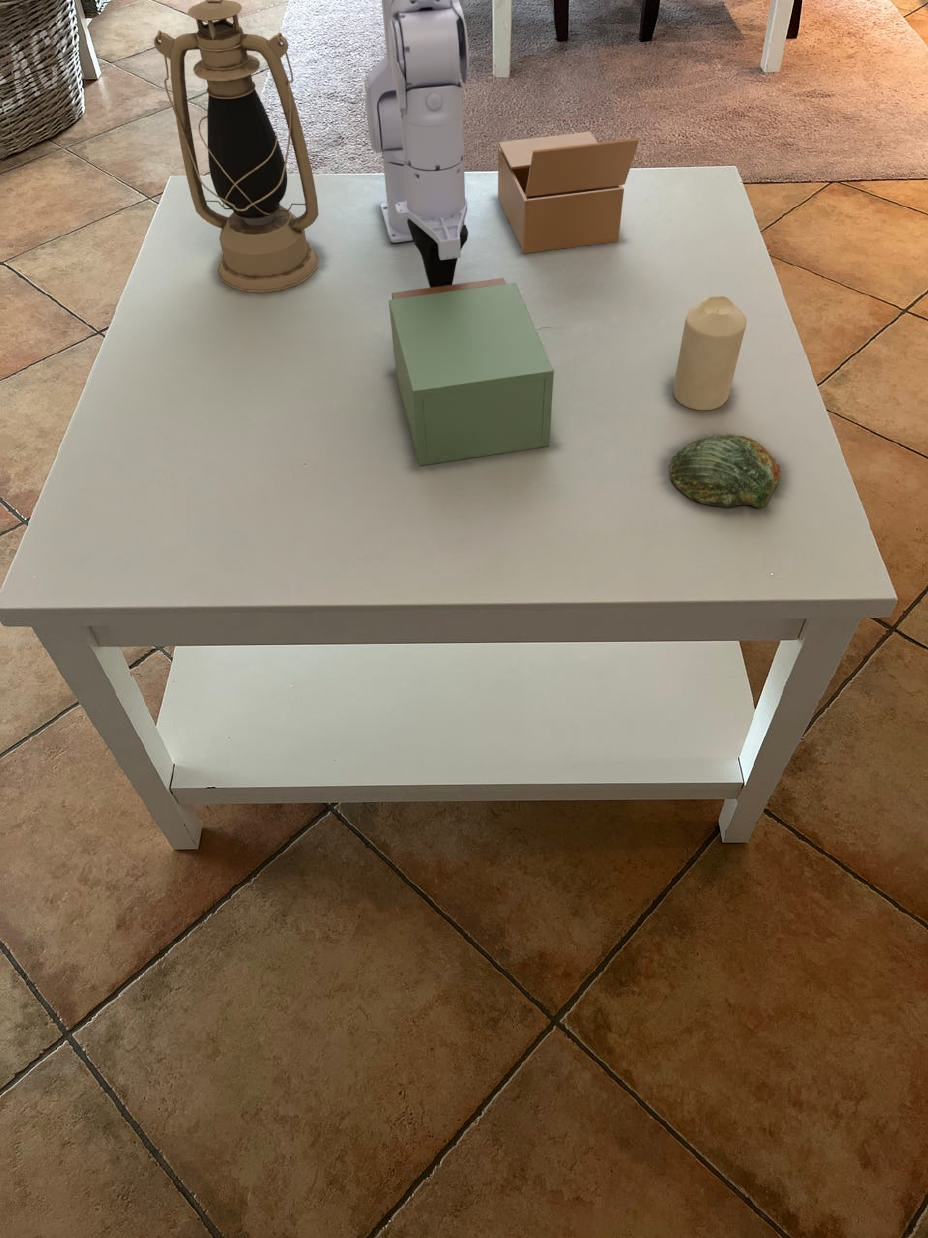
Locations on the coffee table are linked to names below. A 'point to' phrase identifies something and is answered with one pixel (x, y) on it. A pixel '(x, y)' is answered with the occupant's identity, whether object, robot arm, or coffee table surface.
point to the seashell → (726, 471)
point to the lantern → (243, 151)
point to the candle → (709, 353)
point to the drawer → (448, 288)
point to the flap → (580, 167)
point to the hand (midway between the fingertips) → (440, 288)
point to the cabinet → (471, 373)
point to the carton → (554, 201)
